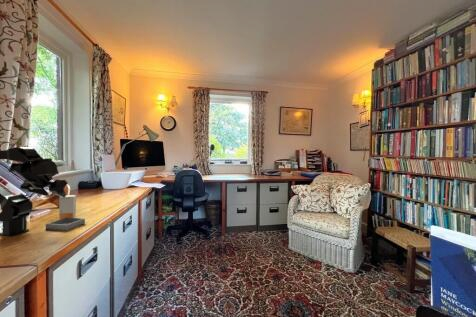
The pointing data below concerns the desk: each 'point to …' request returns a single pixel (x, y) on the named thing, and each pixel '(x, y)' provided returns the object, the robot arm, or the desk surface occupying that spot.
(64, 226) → the tray
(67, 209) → the skincare box
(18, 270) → the desk surface
